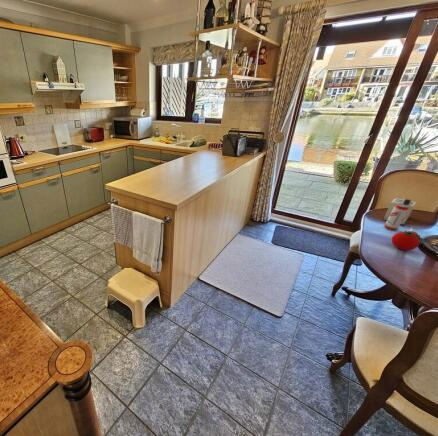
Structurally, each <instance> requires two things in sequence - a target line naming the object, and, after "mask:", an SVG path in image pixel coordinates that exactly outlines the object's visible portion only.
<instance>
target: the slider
mask: <svg viewBox="0 0 438 436" xmlns="http://www.w3.org/2000/svg"><path fill="white" fill-rule="evenodd" d="M404 200H405V201H404V203H403V204H405V205H409V204H410V202H411V201H412V199H409V198H405V199H404Z"/></svg>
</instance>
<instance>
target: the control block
mask: <svg viewBox="0 0 438 436" xmlns="http://www.w3.org/2000/svg"><path fill="white" fill-rule="evenodd" d="M417 237H418V239H419V245H418V246H417V247H419V246H420V247H421V245H422V243H423V241H424V237H422V236H421V235H420V234H418V235H417Z"/></svg>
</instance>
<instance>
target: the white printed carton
mask: <svg viewBox="0 0 438 436" xmlns="http://www.w3.org/2000/svg"><path fill="white" fill-rule="evenodd" d="M404 201H405V199H402V198H398V197H394V199H393V200H392V201H391V202H390V203H389V206H388V208H387V210H386V213H385V214H384V217H383V218H382V221H385V222H387V220H388V218H389V216H390V214H391V212H392V210H393V208H394V207H395V206H396V205H397V204H403V203H404ZM416 204H417V202H416V201H412V200H411V202H410V204H409V205H407V206H408V212H407V213H406V215H405V217H404V219H403V221H402V222H401V224H400V226H405V225H406V223H407V222H408V221H409V219H408V218H409V217H410V215H411V214H412V212H413V210H414V208H415V205H416ZM404 205H405V204H404Z"/></svg>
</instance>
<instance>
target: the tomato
mask: <svg viewBox="0 0 438 436" xmlns="http://www.w3.org/2000/svg"><path fill="white" fill-rule="evenodd" d="M413 234H415V233H411V232H409V233H408V230H406V229H405V230H404V231H399V232H396V233H395V234H393V235H392V236H391V244H392V245H393V246H394V247H396V248H397V249H399V250H402V251H403V250H404V251H412V250H415V249H416V248H417V247H419V246H418V245H419V239H418V237H417V236H416V235H413Z"/></svg>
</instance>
